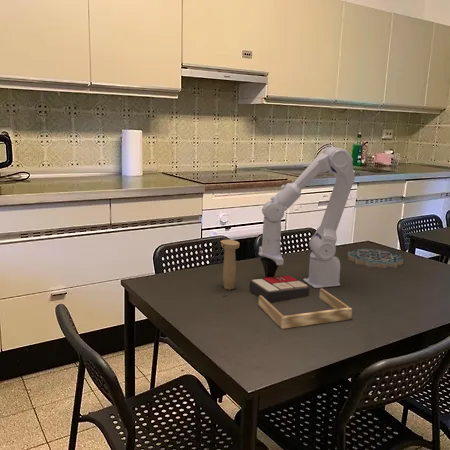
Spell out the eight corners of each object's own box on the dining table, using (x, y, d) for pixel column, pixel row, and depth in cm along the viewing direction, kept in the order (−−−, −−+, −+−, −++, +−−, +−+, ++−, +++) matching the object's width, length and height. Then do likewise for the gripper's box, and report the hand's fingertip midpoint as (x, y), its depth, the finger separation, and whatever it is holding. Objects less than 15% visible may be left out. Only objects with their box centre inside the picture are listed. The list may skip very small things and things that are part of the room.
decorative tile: (410, 260, 177) (410, 255, 176) (389, 272, 162) (390, 266, 162) (361, 250, 190) (362, 244, 189) (338, 260, 175) (338, 254, 175)
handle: (228, 293, 140) (229, 245, 136) (216, 286, 145) (217, 240, 141) (241, 289, 142) (242, 243, 139) (229, 283, 148) (230, 238, 144)
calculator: (310, 285, 138) (268, 290, 132) (309, 298, 139) (267, 304, 133) (289, 274, 148) (249, 278, 141) (288, 286, 149) (248, 291, 142)
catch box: (321, 297, 138) (322, 288, 137) (351, 319, 123) (352, 308, 123) (258, 305, 131) (258, 295, 130) (282, 328, 117) (282, 317, 116)
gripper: (251, 234, 150) (249, 273, 153) (269, 246, 137) (267, 288, 140) (270, 233, 152) (269, 271, 156) (290, 244, 139) (288, 286, 142)
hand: (269, 279), depth 148 cm, fingers closed
